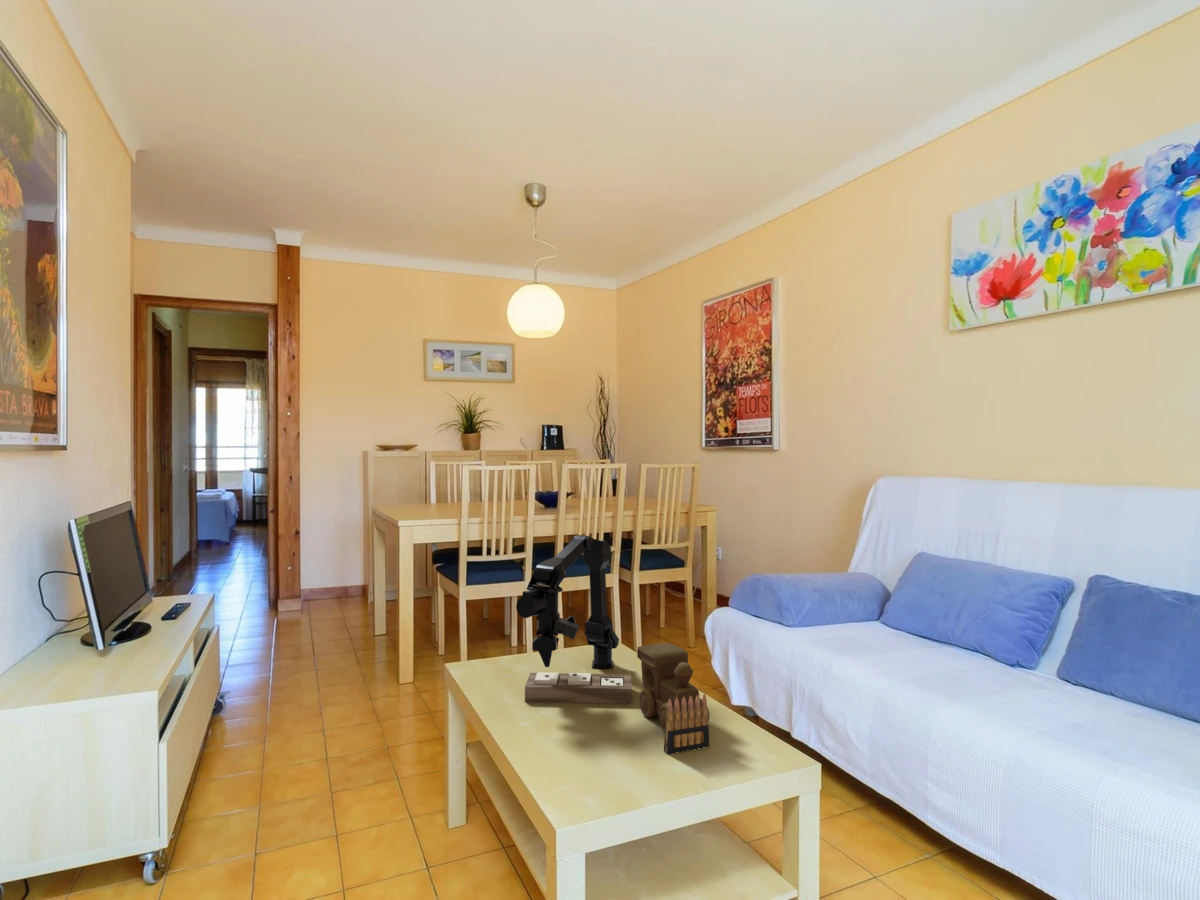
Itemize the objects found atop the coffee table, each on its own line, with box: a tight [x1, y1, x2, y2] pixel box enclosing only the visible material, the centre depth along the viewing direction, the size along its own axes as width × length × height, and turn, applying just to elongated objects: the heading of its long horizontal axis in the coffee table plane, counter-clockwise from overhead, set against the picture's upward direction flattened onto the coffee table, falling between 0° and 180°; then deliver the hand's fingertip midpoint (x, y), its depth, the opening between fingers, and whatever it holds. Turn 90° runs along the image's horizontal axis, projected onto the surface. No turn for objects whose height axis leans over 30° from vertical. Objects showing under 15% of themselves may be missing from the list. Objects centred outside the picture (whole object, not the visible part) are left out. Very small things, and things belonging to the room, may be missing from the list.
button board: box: [524, 672, 633, 705], centre depth 177 cm, size 11×29×4 cm, turn 89°
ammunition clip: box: [663, 693, 710, 755], centre depth 146 cm, size 11×2×12 cm, turn 110°
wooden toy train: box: [636, 642, 710, 732], centre depth 161 cm, size 20×11×17 cm, turn 24°
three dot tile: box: [601, 678, 623, 686], centre depth 177 cm, size 6×6×3 cm
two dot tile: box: [568, 672, 592, 685], centre depth 177 cm, size 6×6×3 cm
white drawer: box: [535, 671, 560, 684], centre depth 177 cm, size 6×6×3 cm
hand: (547, 666), depth 178 cm, fingers closed
